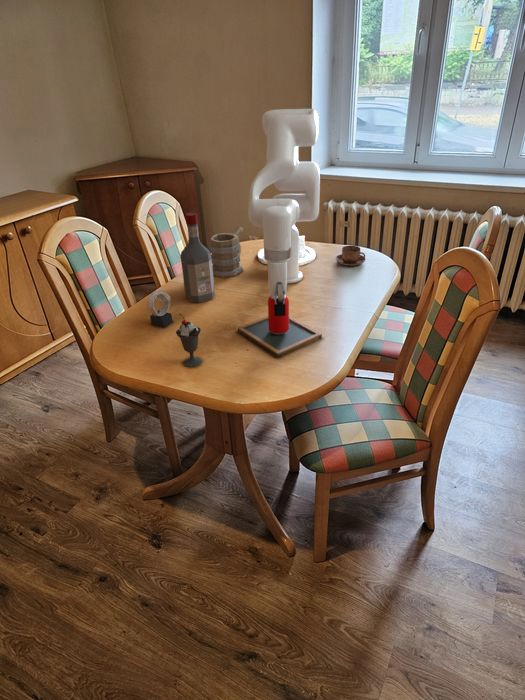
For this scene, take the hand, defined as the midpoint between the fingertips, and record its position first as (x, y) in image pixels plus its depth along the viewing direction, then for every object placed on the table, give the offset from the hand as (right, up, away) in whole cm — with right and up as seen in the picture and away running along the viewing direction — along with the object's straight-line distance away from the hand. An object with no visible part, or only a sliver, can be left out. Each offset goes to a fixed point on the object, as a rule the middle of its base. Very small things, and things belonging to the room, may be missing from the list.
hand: (278, 307), depth 136 cm
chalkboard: (0, -8, +4) cm, 9 cm away
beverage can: (0, -7, +4) cm, 8 cm away
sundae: (-25, -16, -7) cm, 30 cm away
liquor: (-27, +6, +30) cm, 41 cm away
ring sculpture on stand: (-38, -4, +14) cm, 40 cm away
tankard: (-18, +21, +53) cm, 60 cm away
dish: (+6, +28, +62) cm, 68 cm away
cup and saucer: (+32, +23, +53) cm, 66 cm away
